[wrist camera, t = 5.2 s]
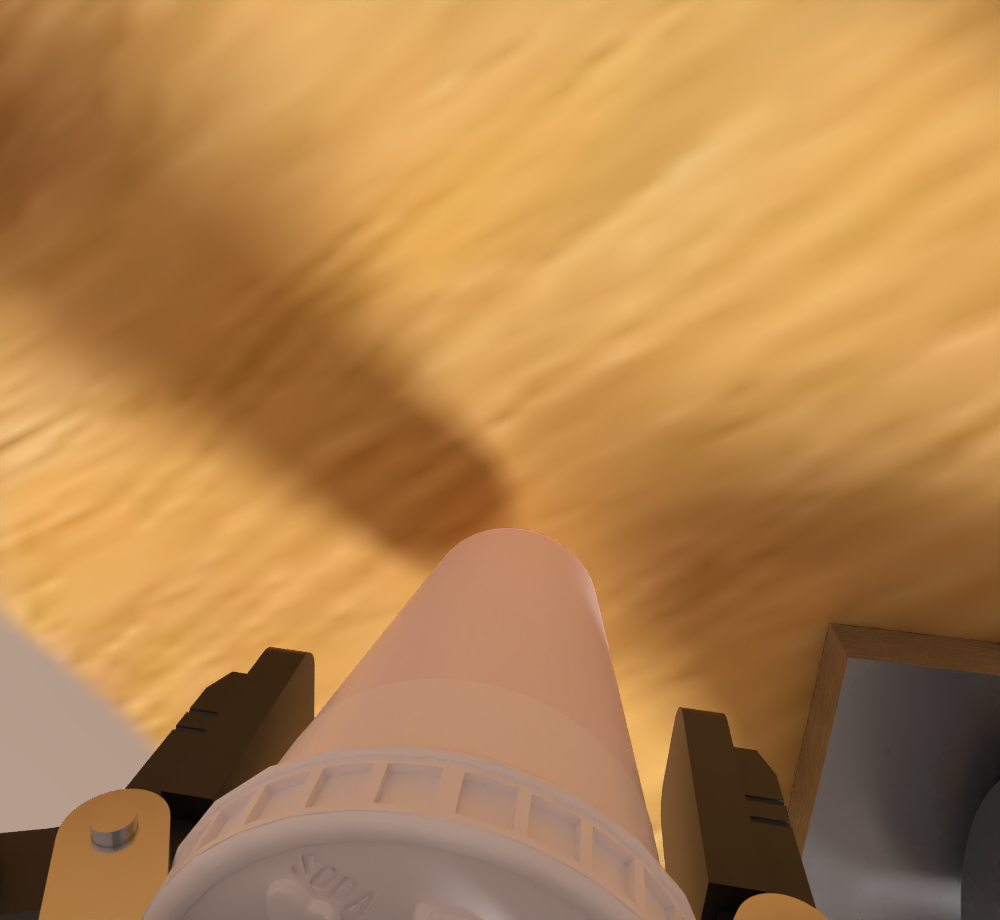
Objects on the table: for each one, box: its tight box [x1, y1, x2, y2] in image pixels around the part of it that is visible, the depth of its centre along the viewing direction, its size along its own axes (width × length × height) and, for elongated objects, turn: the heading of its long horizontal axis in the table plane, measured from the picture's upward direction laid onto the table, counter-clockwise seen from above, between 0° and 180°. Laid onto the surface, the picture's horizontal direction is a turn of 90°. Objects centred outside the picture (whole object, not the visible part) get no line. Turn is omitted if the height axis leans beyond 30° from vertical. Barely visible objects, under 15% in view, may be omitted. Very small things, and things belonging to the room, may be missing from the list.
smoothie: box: [142, 528, 696, 920], centre depth 11 cm, size 6×6×14 cm
